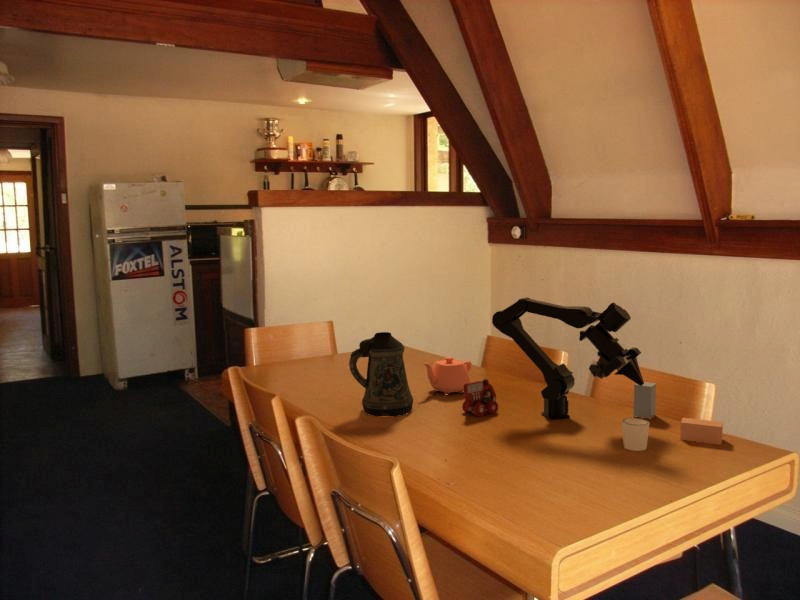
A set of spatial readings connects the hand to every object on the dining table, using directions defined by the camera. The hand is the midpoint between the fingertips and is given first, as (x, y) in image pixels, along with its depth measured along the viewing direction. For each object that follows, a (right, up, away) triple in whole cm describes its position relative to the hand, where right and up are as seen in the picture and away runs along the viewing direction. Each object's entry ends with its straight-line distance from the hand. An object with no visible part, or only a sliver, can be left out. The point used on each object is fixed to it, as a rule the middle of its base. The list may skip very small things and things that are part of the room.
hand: (642, 384), depth 191 cm
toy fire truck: (-43, -12, +22) cm, 50 cm away
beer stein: (-73, -12, +26) cm, 79 cm away
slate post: (+6, -11, +14) cm, 19 cm away
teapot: (-51, -9, +48) cm, 71 cm away
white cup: (-6, -15, -12) cm, 21 cm away
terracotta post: (+9, -11, -5) cm, 15 cm away
